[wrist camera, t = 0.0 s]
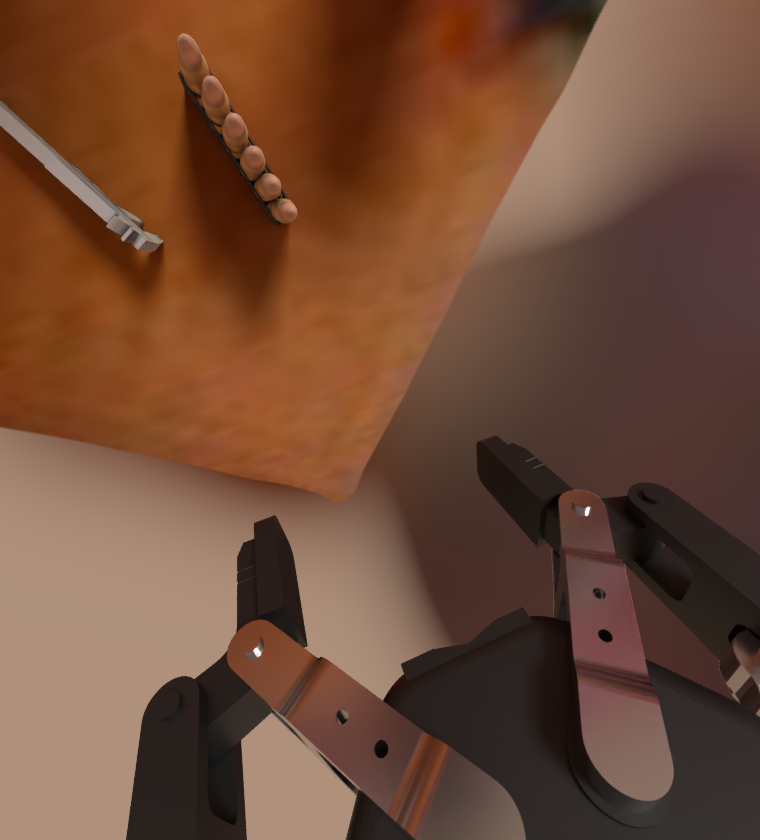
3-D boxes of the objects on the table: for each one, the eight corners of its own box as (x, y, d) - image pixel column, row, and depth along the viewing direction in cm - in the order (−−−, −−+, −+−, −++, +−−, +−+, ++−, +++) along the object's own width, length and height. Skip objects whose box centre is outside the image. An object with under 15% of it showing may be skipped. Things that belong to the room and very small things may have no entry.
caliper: (165, 240, 32) (152, 246, 27) (157, 249, 32) (142, 257, 27) (-179, -64, 21) (-318, -153, 15) (-189, -47, 21) (-330, -131, 16)
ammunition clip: (291, 214, 34) (312, 218, 24) (274, 225, 34) (289, 234, 24) (203, 73, 28) (184, 2, 18) (183, 88, 28) (154, 25, 18)
